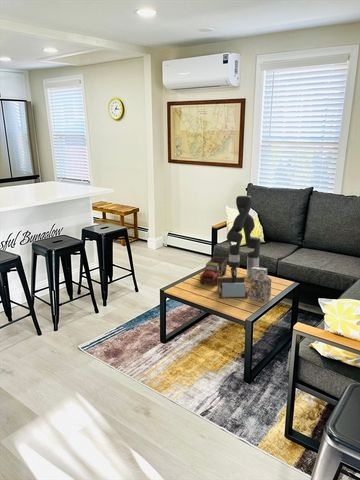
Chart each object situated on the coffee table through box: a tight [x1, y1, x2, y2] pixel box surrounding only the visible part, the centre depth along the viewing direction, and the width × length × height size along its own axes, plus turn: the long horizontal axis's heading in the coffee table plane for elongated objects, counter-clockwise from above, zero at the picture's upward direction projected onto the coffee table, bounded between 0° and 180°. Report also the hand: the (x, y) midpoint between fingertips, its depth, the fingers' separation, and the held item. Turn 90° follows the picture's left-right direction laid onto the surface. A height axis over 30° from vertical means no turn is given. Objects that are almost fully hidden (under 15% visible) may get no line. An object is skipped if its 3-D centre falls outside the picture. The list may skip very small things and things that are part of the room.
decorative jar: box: [249, 274, 272, 303], centre depth 262 cm, size 12×12×18 cm
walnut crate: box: [216, 276, 249, 300], centre depth 271 cm, size 16×20×10 cm
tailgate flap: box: [222, 282, 247, 297], centre depth 262 cm, size 1×16×10 cm, turn 90°
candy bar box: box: [250, 266, 268, 281], centre depth 279 cm, size 11×5×16 cm, turn 62°
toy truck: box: [199, 256, 228, 287], centre depth 300 cm, size 14×35×15 cm, turn 155°
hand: (233, 283), depth 264 cm, fingers closed
